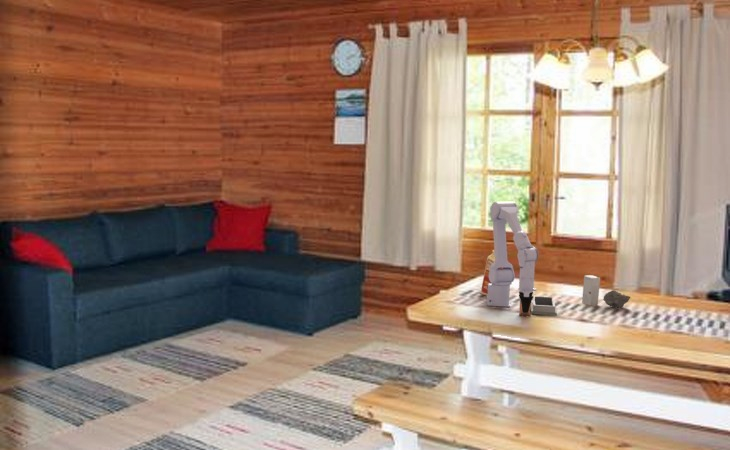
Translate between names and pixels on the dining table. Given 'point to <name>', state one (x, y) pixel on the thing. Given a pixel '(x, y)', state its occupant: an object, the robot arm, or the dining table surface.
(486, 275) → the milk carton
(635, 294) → the dining table surface
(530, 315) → the spout can
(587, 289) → the skincare box
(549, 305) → the grey green open box
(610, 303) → the fossil
